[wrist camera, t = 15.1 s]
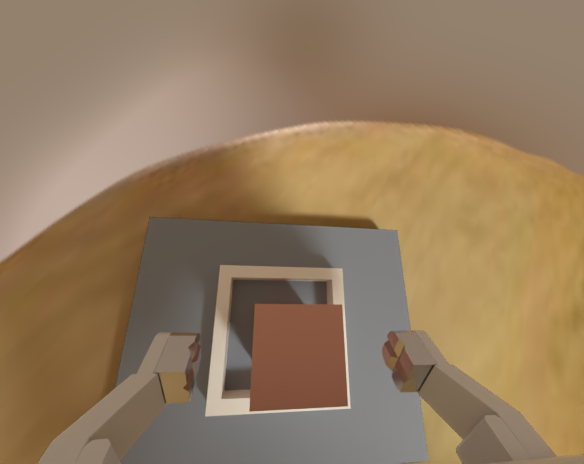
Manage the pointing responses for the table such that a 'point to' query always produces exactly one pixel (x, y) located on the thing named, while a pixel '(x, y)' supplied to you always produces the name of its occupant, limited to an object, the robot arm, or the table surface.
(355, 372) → the base board
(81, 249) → the table surface
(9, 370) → the table surface
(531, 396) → the table surface
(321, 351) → the pillar
